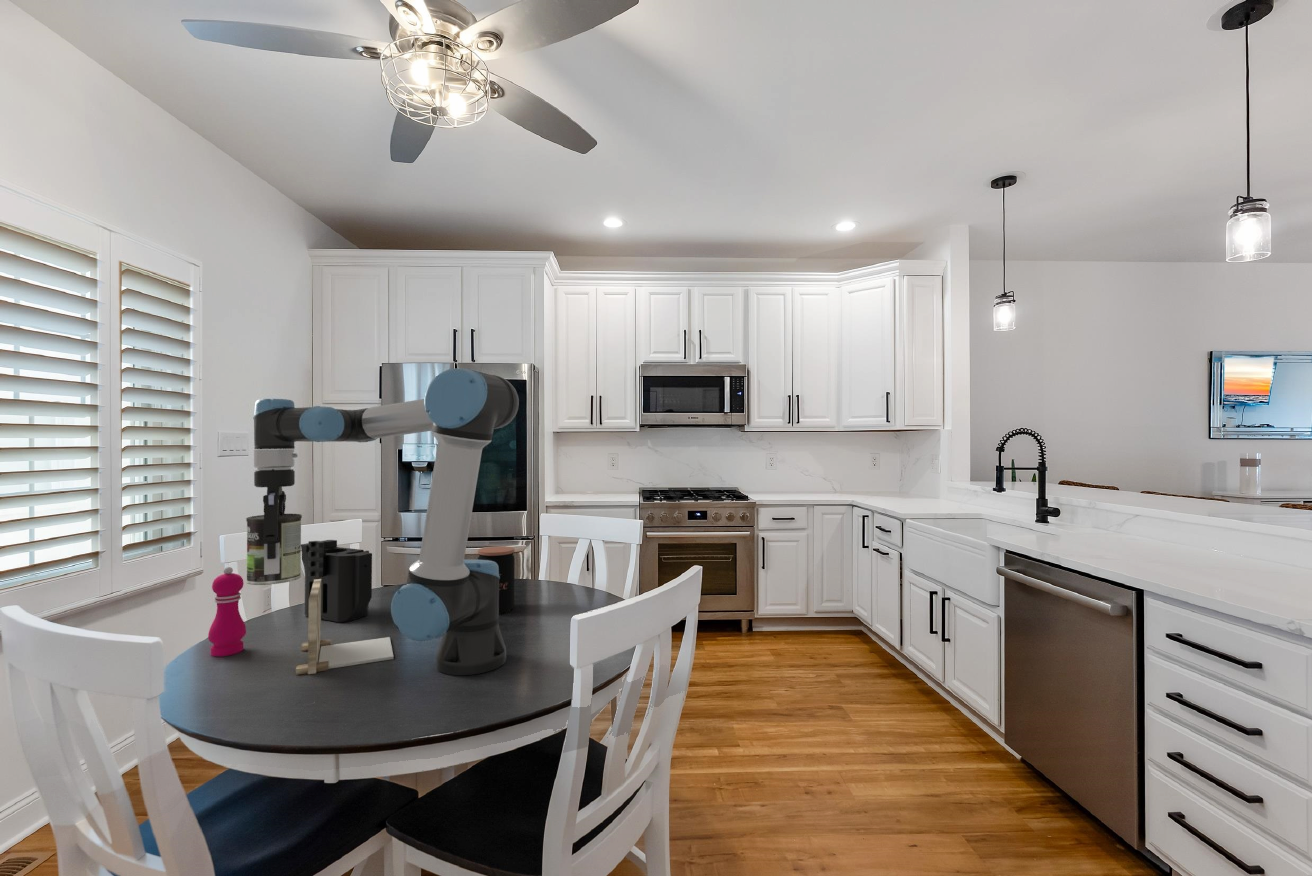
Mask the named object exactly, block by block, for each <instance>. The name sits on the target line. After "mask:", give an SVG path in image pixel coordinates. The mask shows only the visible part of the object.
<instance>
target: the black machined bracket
mask: <svg viewBox="0 0 1312 876" xmlns="http://www.w3.org/2000/svg"><path fill="white" fill-rule="evenodd" d="M301 563H302V564H303V570H304V613H303V614H304V615H305V617H308V618H309V596H310V593H311V589H312V585H313V582H314V580H316V579H321V620H323V621H324V620H325V621H330V622H334V623H348V622H351V621H354V620H357V619H360V618H362V617H364V618H365V617H367V616H368V615H369V610H370V609H369V605H370V602H371V599H372V597H373V594H372V593H373V592H372V591H373V590H372V589H373V588H372V587H373V586H372V583H373V553H372V552H370V550H364V549H359V548H349V547H339V546H338V540H337V539H325V540H309V541H308V543H301Z"/></svg>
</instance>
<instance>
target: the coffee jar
mask: <svg viewBox="0 0 1312 876" xmlns="http://www.w3.org/2000/svg"><path fill="white" fill-rule="evenodd" d="M514 552H515V548H514V547H512V546H508V545H507V546H506V545H501V546H500V545H495V546H492V545H491V546H485V547H481V548H478V549H477V554H478V555H479V556H478V557H477V560H489V561H494V562H496V563H497V564H498V567H499V576H500V579H499V613H502V614H504V613H503V612H506V613H508V612H507V611H509V610H511V609H512V610H513V608H514V607H515V564H516V563H515V556H514ZM512 610H511V611H512ZM509 612H510V611H509Z"/></svg>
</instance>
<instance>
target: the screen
mask: <svg viewBox="0 0 1312 876" xmlns="http://www.w3.org/2000/svg"><path fill="white" fill-rule="evenodd" d="M321 622H322V619H321V579H316V580H314V582H313V585H312V589H311V593H310V596H309V617H308V627H307V628H308V630H307V631H308V637H307V640H308V641H307V642H302V643H301V652H305V651H306V652H307V653H308V654H307V663H306V664H305V663H304V664H299V665H296V667H295V675H296V676H298V675H305V674H307V675H311V674H312V675H313V674H317V672H324V671H329V669H328V665H329V661H324V662H319V657H320V650H321V646H327V645H332V639H331V638H330V639H329V638H328V639H321V629H322V628H321V627H322V625H321V624H322V623H321Z"/></svg>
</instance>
